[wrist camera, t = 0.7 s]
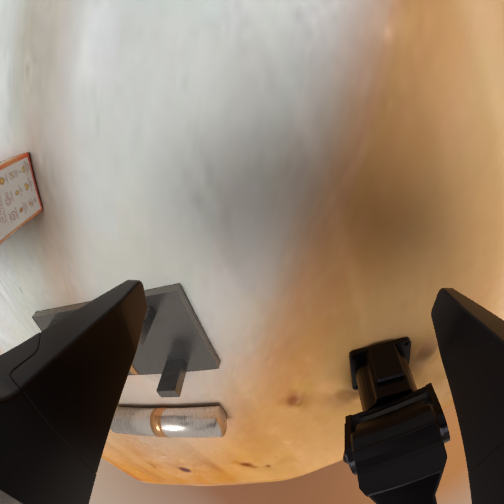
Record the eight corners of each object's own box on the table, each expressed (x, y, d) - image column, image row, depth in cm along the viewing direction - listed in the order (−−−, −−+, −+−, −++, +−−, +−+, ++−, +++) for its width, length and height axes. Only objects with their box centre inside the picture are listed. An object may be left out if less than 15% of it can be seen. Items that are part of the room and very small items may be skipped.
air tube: (217, 398, 34) (212, 426, 30) (228, 416, 36) (224, 442, 32) (113, 401, 37) (103, 422, 33) (128, 417, 39) (120, 438, 35)
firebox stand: (220, 361, 30) (213, 400, 26) (80, 370, 34) (65, 398, 30) (179, 283, 26) (163, 323, 21) (35, 311, 29) (14, 339, 25)
